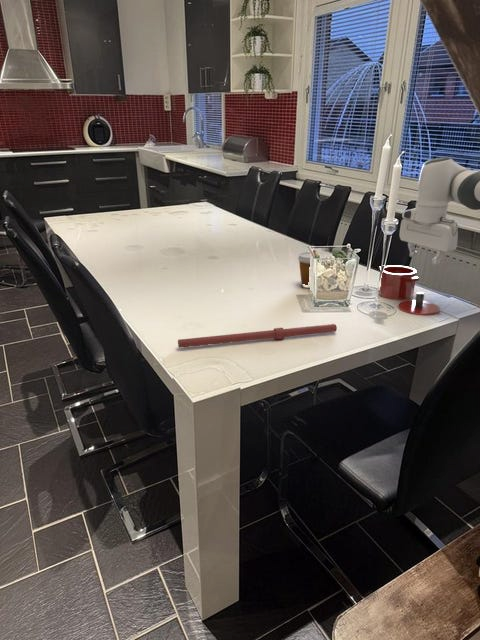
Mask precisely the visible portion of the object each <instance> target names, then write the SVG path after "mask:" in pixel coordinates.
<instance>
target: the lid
mask: <svg viewBox="0 0 480 640" xmlns="http://www.w3.org/2000/svg"><path fill="white" fill-rule="evenodd" d="M397 308H398V309H399V310H400V311H402V312H403V313H407V314H411V315H416V316H433V315H436V314H439V313H440V311H441V308H440V306H439V305H438V304H435V303H433V302H430V301H426V300H425V292H423V291H417V292H416V294H415V299H408V300H401V301H400V302H398V304H397Z"/></svg>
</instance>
